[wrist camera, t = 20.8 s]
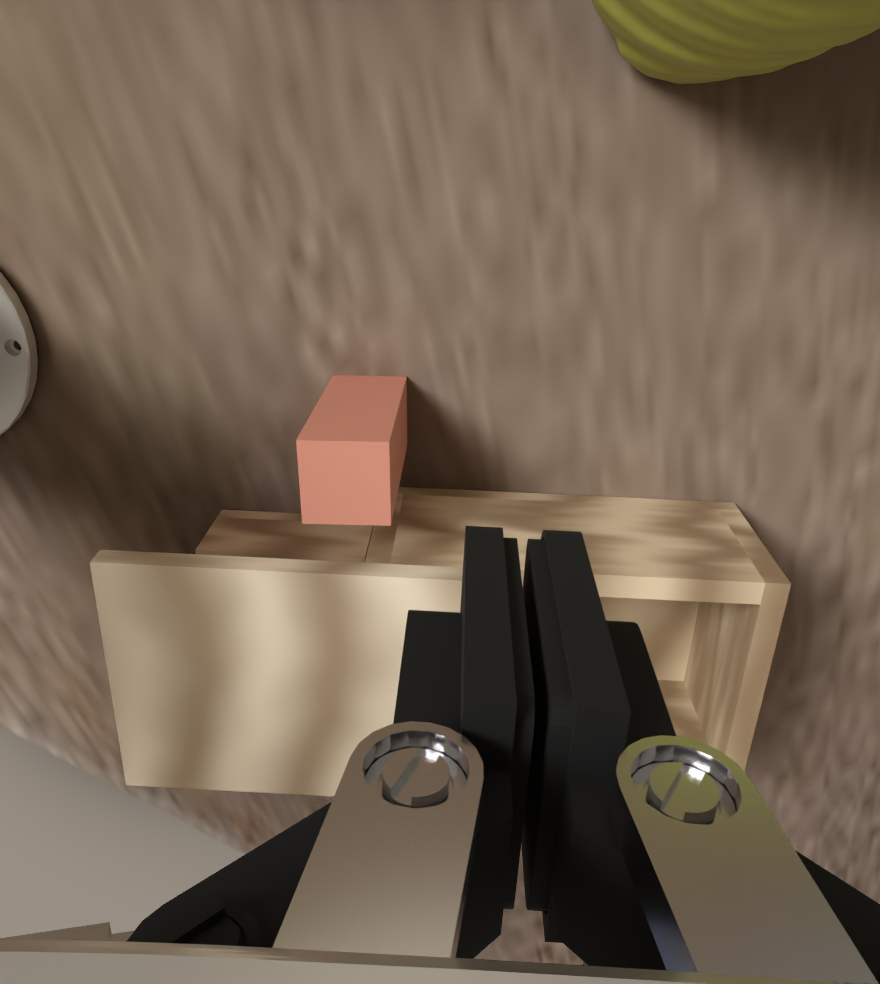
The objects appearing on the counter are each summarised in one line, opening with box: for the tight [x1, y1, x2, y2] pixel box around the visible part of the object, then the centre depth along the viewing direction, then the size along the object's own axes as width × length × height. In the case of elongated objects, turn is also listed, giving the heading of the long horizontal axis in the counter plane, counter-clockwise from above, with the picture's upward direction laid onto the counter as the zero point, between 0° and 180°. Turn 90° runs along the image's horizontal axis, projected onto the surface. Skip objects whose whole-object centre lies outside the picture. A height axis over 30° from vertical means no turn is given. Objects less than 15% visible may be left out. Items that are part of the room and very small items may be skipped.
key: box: [296, 375, 407, 526], centre depth 40 cm, size 4×4×10 cm
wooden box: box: [195, 487, 791, 771], centre depth 45 cm, size 30×13×9 cm, turn 88°
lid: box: [90, 550, 524, 796], centre depth 38 cm, size 20×13×5 cm, turn 88°
